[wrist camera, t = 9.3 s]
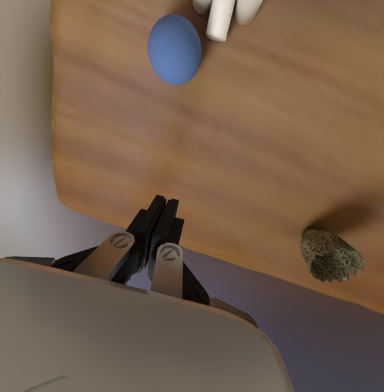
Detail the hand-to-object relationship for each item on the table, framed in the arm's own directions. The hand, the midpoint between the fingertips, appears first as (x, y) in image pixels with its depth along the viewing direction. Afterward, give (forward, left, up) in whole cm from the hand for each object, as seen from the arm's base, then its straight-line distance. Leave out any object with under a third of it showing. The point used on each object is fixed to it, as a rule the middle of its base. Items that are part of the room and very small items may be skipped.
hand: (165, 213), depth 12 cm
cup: (-26, +9, -17) cm, 33 cm away
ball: (+4, -12, -14) cm, 19 cm away
